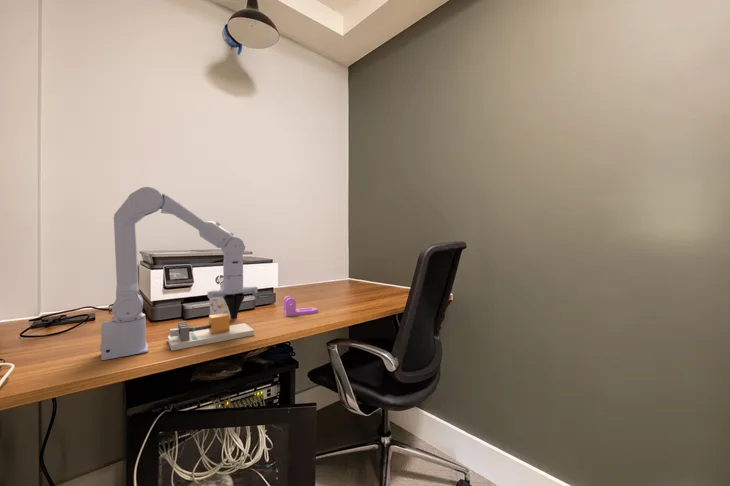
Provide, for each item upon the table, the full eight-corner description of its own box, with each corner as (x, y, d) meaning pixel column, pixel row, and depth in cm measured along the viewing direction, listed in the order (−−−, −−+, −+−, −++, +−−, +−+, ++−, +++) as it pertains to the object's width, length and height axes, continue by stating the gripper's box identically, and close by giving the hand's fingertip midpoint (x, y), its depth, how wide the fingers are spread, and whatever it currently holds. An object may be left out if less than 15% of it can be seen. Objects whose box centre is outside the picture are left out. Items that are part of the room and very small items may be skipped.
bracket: (286, 316, 119) (285, 298, 119) (283, 313, 124) (283, 296, 124) (319, 313, 124) (318, 296, 124) (315, 310, 130) (315, 293, 129)
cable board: (171, 350, 83) (170, 331, 83) (167, 340, 91) (167, 322, 91) (254, 334, 96) (253, 318, 96) (244, 327, 104) (244, 311, 104)
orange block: (211, 333, 92) (211, 318, 92) (209, 330, 95) (208, 315, 95) (229, 330, 95) (229, 315, 95) (226, 327, 98) (226, 313, 98)
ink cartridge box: (224, 317, 117) (224, 279, 117) (236, 318, 116) (236, 279, 116) (209, 324, 109) (208, 282, 108) (221, 324, 108) (221, 282, 107)
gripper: (210, 278, 90) (211, 325, 90) (260, 274, 98) (260, 317, 99) (205, 276, 95) (206, 319, 96) (253, 272, 104) (254, 312, 104)
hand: (233, 318), depth 97 cm, fingers closed
